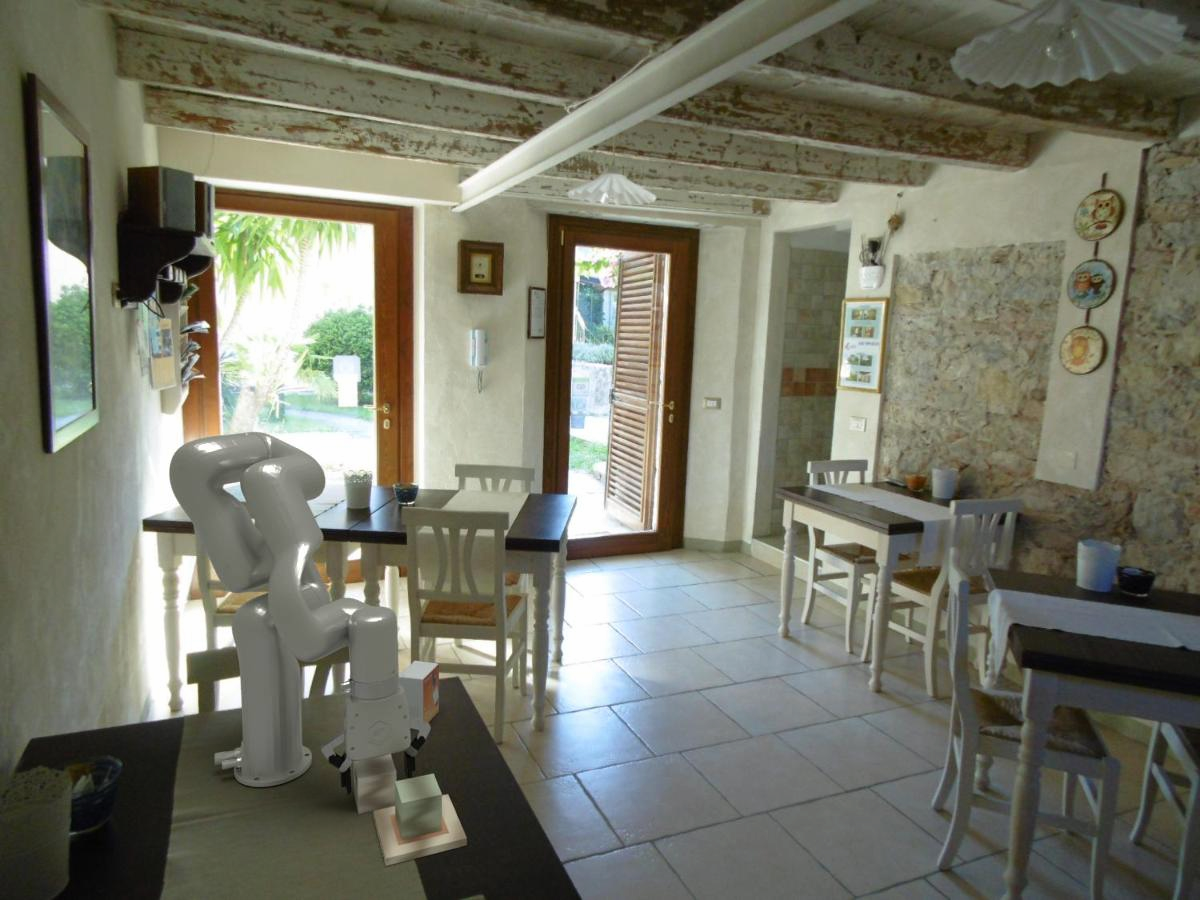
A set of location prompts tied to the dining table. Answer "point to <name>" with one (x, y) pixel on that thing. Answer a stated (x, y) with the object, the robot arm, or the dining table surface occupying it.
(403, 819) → the sage block
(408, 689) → the small box
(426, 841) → the board
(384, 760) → the cream block
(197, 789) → the dining table surface
